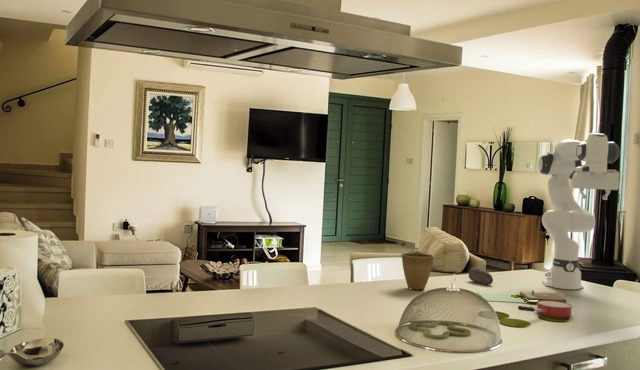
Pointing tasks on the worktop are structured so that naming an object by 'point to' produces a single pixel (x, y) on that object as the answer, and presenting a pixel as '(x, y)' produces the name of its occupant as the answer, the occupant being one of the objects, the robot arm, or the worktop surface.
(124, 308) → the worktop surface
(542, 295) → the birch tile
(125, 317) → the worktop surface
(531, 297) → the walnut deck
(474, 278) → the grey stone
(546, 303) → the red saucepan
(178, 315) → the worktop surface
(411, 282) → the plant pot
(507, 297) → the green mat
